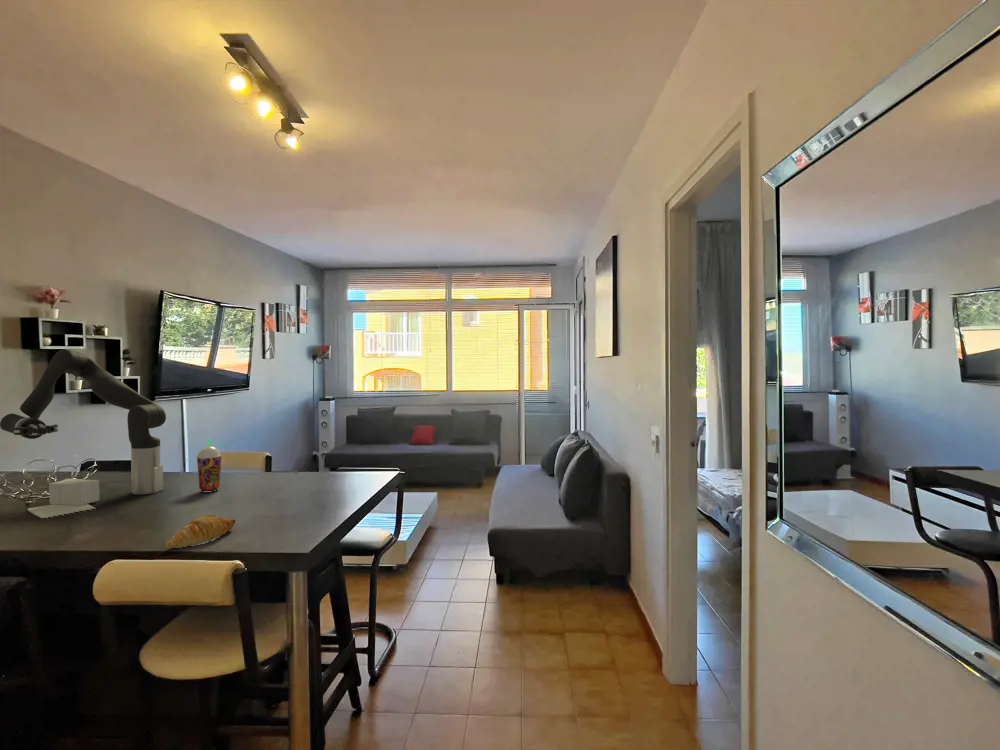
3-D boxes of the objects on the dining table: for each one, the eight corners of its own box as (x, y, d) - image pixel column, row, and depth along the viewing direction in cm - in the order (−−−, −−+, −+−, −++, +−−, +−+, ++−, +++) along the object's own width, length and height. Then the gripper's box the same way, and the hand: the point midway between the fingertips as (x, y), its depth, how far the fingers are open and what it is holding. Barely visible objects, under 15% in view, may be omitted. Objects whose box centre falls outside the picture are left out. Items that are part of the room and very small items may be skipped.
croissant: (174, 567, 140) (183, 542, 138) (150, 544, 143) (159, 520, 141) (240, 540, 159) (249, 518, 158) (218, 521, 162) (226, 499, 161)
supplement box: (69, 498, 191) (100, 500, 189) (48, 504, 183) (80, 506, 181) (69, 478, 190) (100, 479, 188) (48, 482, 183) (80, 484, 181)
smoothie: (214, 493, 201) (214, 440, 201) (192, 493, 201) (191, 440, 201) (226, 488, 210) (225, 437, 209) (205, 488, 210) (204, 437, 209)
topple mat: (27, 510, 178) (27, 508, 178) (79, 501, 189) (79, 500, 189) (41, 519, 168) (41, 517, 168) (95, 509, 180) (95, 507, 180)
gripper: (5, 419, 195) (18, 422, 184) (52, 416, 205) (66, 419, 195) (6, 440, 195) (19, 444, 184) (52, 435, 205) (66, 439, 195)
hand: (43, 431), depth 190 cm, fingers closed
